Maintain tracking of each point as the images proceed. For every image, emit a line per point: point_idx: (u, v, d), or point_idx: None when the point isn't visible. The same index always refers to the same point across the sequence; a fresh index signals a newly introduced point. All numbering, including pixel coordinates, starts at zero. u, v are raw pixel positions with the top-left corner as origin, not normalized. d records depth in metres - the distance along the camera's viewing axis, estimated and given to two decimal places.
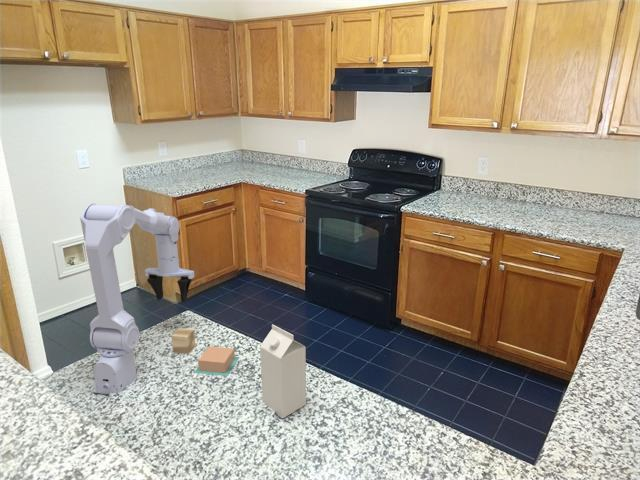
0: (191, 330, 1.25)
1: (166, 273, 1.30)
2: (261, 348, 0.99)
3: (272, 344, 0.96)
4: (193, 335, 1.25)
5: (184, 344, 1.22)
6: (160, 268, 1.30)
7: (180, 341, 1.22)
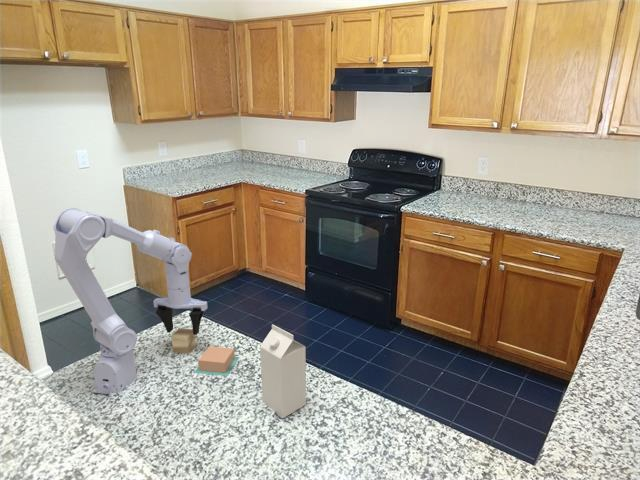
0: (191, 330, 1.25)
1: (177, 305, 1.19)
2: (261, 348, 0.99)
3: (272, 344, 0.96)
4: (193, 335, 1.25)
5: (184, 344, 1.22)
6: (170, 299, 1.19)
7: (180, 341, 1.22)
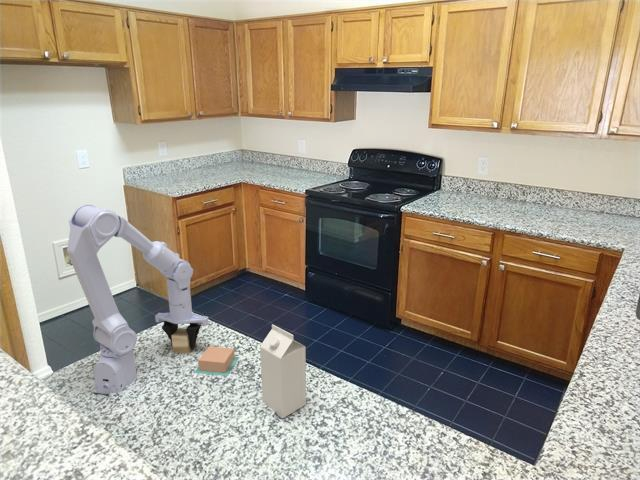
0: None
1: (178, 320, 1.20)
2: (261, 348, 0.99)
3: (272, 344, 0.96)
4: None
5: (184, 343, 1.22)
6: (172, 315, 1.20)
7: (180, 341, 1.22)
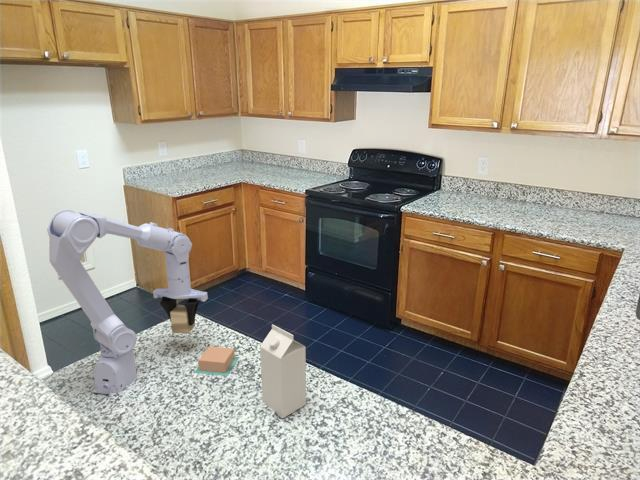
0: None
1: (177, 295, 1.17)
2: (261, 348, 0.99)
3: (272, 344, 0.96)
4: None
5: (183, 320, 1.20)
6: (170, 290, 1.18)
7: (179, 317, 1.20)
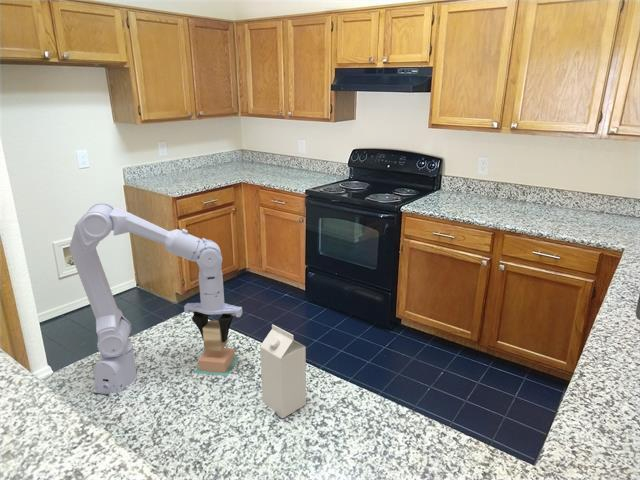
0: None
1: (210, 311, 1.10)
2: (261, 348, 0.99)
3: (272, 344, 0.96)
4: None
5: (216, 337, 1.13)
6: (203, 305, 1.11)
7: (212, 334, 1.13)
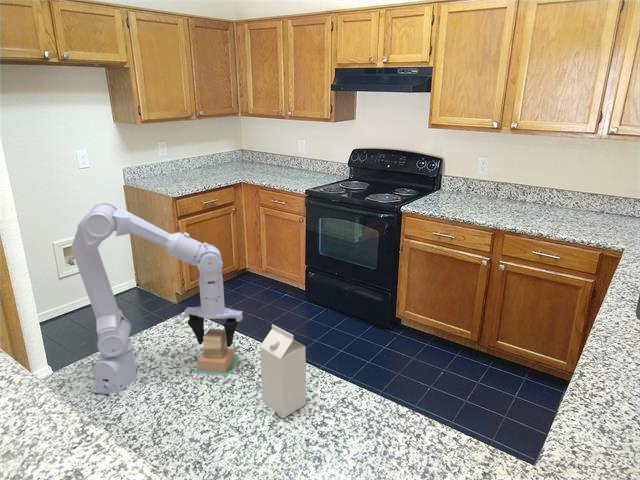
0: (223, 331, 1.16)
1: (210, 315, 1.11)
2: (261, 348, 0.99)
3: (272, 344, 0.96)
4: (225, 336, 1.17)
5: (217, 345, 1.14)
6: (203, 309, 1.11)
7: (212, 342, 1.14)
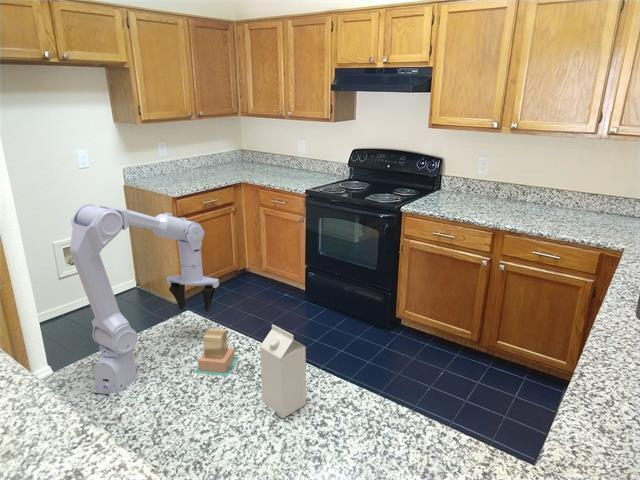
0: (223, 331, 1.16)
1: (189, 282, 1.22)
2: (261, 348, 0.99)
3: (272, 344, 0.96)
4: (225, 336, 1.17)
5: (217, 345, 1.14)
6: (183, 276, 1.23)
7: (212, 342, 1.14)
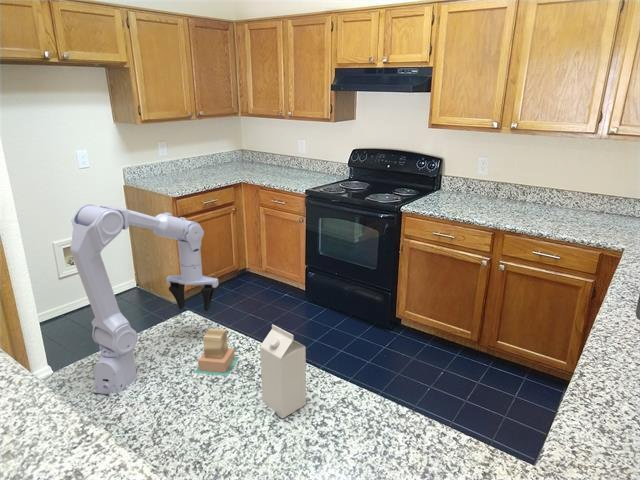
0: (223, 331, 1.16)
1: (189, 281, 1.23)
2: (261, 348, 0.99)
3: (272, 344, 0.96)
4: (225, 336, 1.17)
5: (217, 345, 1.14)
6: (183, 276, 1.23)
7: (212, 342, 1.14)
